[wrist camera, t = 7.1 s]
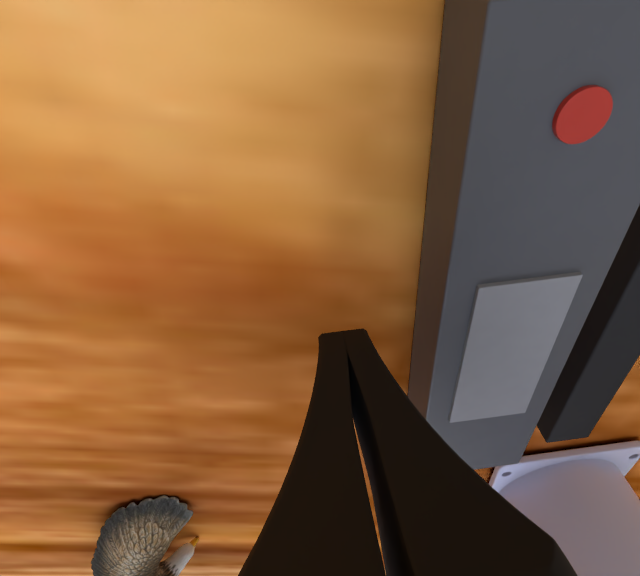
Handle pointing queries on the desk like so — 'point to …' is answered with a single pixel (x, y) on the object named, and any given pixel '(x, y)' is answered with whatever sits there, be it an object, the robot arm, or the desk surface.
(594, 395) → the strip
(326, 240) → the desk surface
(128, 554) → the eagle figurine
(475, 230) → the remote
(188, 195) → the desk surface
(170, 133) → the desk surface
